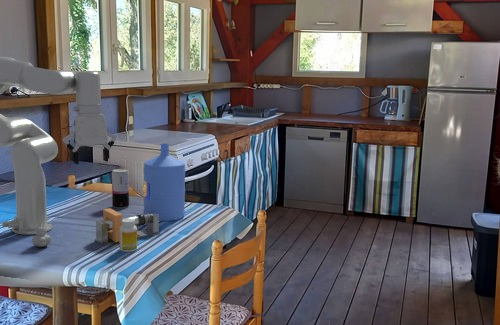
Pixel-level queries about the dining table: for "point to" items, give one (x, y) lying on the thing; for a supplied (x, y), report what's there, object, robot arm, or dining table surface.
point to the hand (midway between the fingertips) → (91, 162)
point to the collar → (113, 223)
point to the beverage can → (120, 188)
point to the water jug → (165, 186)
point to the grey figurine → (41, 237)
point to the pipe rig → (140, 220)
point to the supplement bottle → (128, 235)
